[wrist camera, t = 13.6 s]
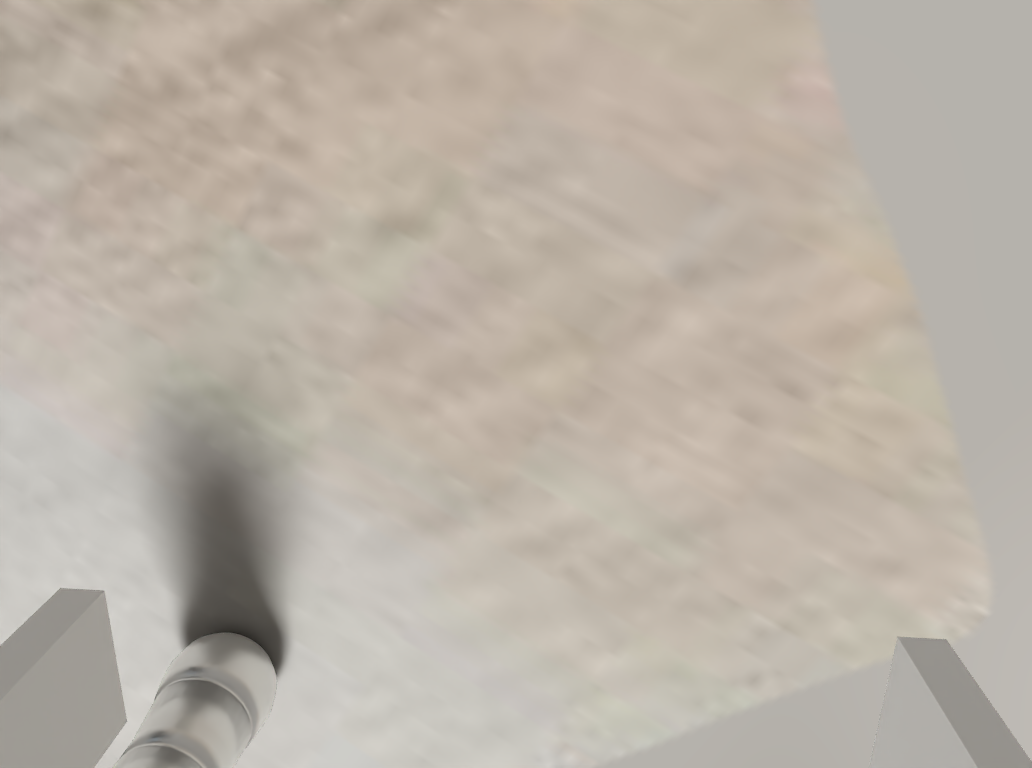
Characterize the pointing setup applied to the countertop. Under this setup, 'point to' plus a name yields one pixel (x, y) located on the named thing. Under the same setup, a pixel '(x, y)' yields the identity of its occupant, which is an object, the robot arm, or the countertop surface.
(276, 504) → the countertop surface
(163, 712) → the plastic bottle
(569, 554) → the countertop surface
